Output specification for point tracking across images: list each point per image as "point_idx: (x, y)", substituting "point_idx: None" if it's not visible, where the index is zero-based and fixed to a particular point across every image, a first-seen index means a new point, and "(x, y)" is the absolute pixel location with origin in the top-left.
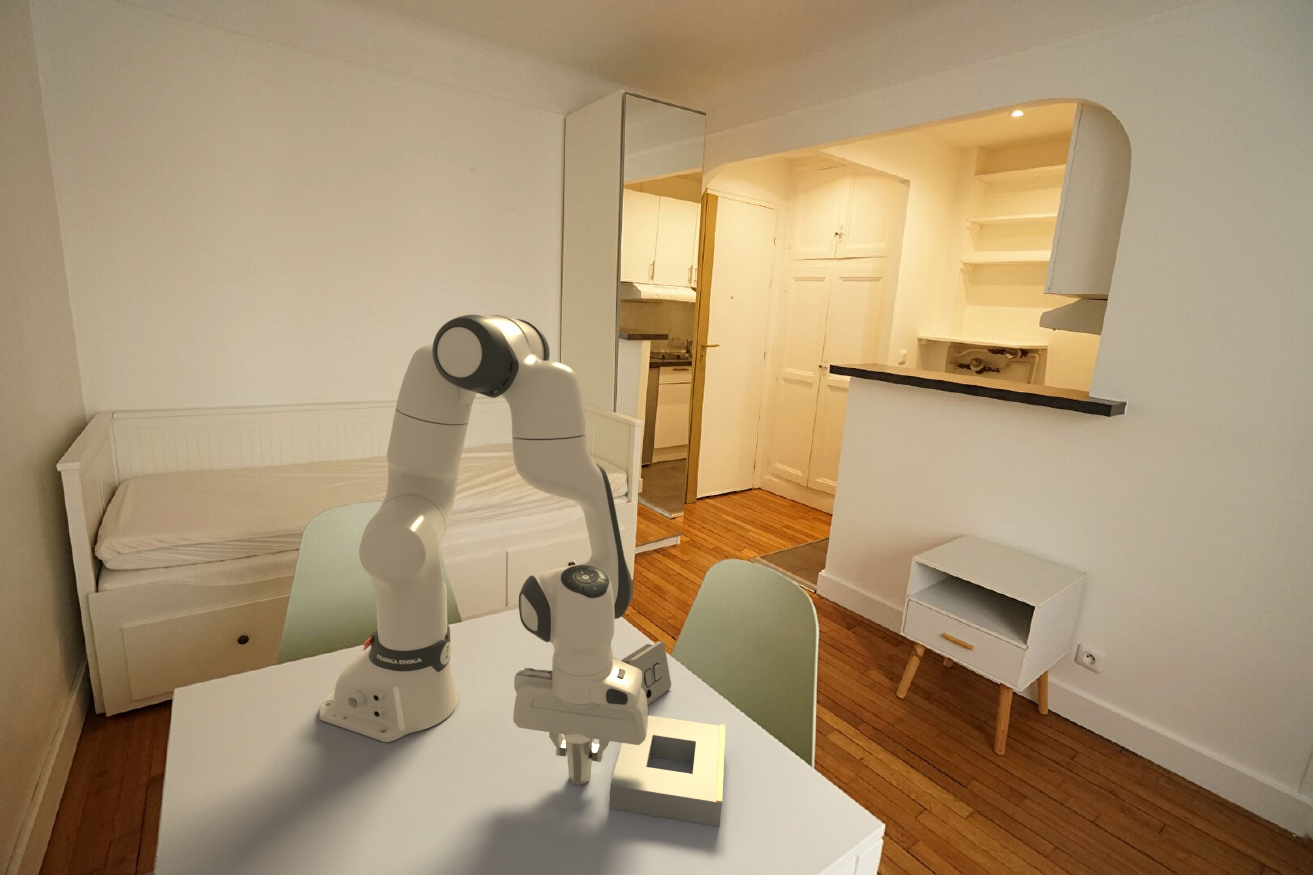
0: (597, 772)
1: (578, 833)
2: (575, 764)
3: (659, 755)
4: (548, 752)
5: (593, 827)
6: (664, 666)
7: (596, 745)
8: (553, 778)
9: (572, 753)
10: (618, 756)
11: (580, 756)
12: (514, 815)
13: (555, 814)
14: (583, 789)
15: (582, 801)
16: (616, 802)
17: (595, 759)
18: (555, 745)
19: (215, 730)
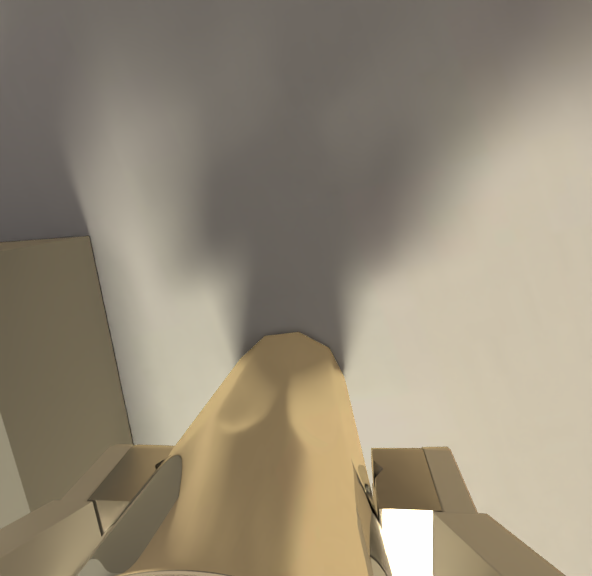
0: None
1: (166, 33)
2: (270, 390)
3: None
4: (500, 497)
5: (112, 99)
6: None
7: None
8: (421, 347)
9: (274, 449)
10: (29, 503)
11: (201, 436)
12: (574, 30)
13: (329, 118)
14: (247, 315)
15: (224, 243)
16: (24, 243)
17: (137, 452)
18: (492, 522)
19: None
